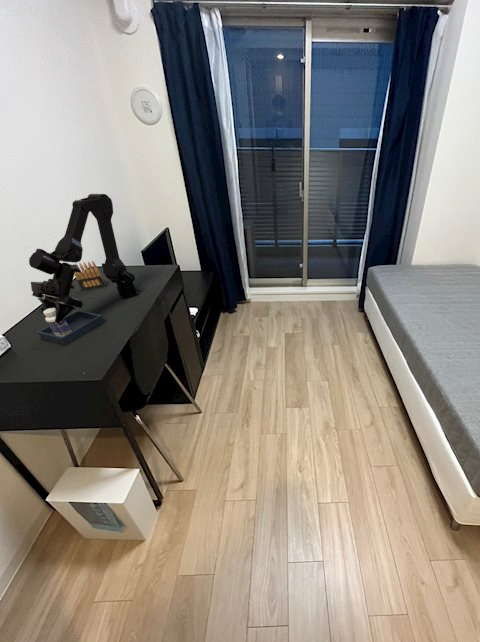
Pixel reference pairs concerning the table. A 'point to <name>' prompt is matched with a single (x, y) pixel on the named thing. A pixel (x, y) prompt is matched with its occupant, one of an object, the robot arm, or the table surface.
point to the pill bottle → (57, 328)
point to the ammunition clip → (89, 277)
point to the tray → (74, 327)
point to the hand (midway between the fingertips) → (51, 321)
